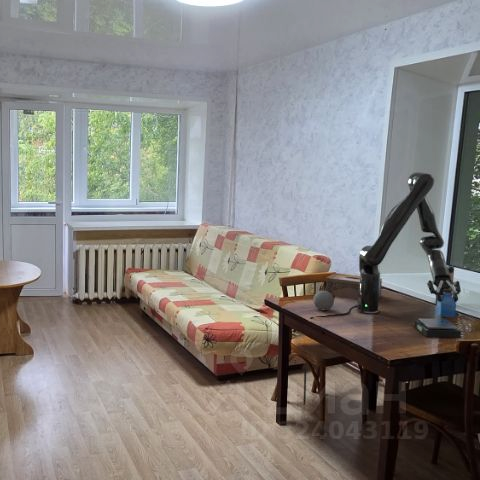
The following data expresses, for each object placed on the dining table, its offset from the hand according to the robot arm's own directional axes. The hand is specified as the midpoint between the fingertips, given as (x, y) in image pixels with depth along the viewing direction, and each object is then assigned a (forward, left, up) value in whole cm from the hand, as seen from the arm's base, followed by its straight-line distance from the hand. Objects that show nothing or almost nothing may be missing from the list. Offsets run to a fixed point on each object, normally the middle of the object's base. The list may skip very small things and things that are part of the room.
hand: (448, 301), depth 241 cm
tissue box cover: (-30, +48, -11) cm, 58 cm away
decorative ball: (-52, +19, -11) cm, 57 cm away
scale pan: (-9, -12, -8) cm, 16 cm away
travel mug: (+12, +33, -11) cm, 37 cm away
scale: (-9, -12, -11) cm, 18 cm away
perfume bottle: (0, +2, -7) cm, 7 cm away
